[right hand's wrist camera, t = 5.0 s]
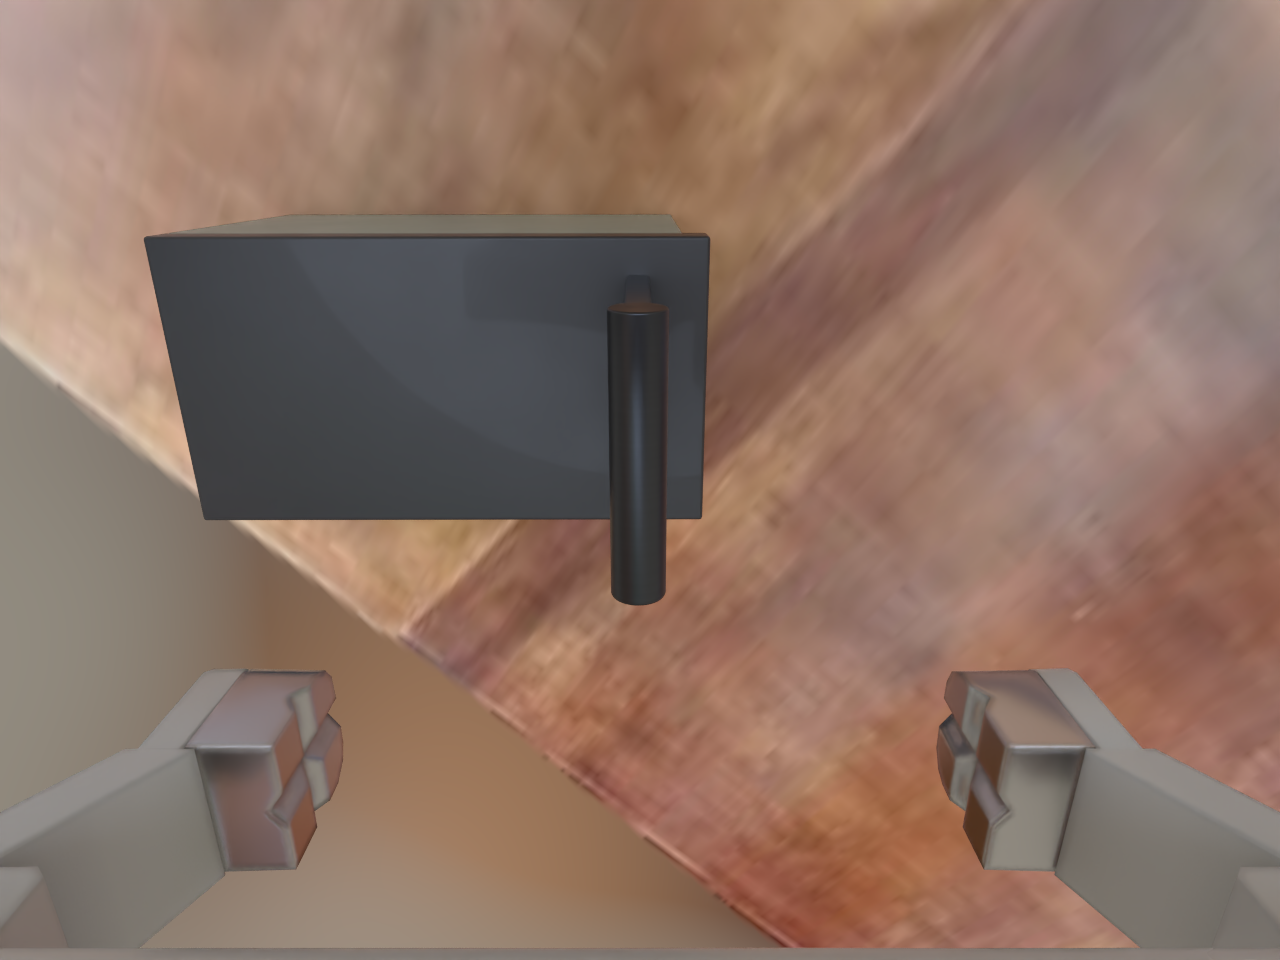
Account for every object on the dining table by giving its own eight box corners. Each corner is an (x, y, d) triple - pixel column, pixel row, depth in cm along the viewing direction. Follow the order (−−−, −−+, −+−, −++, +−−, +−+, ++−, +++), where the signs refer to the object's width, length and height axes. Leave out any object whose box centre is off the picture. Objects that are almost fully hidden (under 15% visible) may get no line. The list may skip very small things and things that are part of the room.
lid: (707, 232, 26) (739, 265, 17) (699, 505, 29) (723, 640, 21) (164, 233, 26) (-58, 266, 17) (220, 506, 29) (57, 641, 21)
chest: (671, 214, 35) (683, 232, 26) (668, 424, 38) (678, 505, 29) (288, 214, 35) (165, 233, 26) (320, 424, 38) (221, 506, 29)
